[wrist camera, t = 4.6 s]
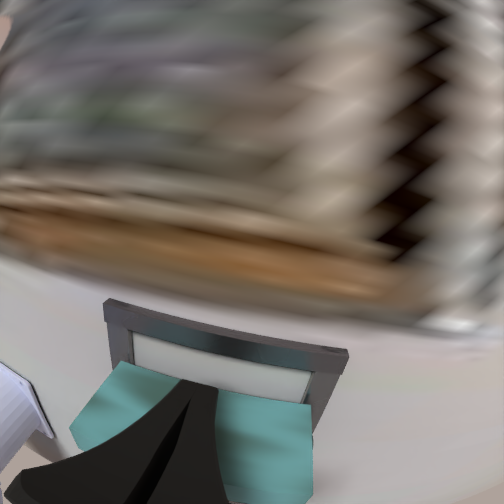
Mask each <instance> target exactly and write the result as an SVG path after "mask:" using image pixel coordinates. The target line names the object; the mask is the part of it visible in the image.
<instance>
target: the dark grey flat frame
mask: <svg viewBox="0 0 504 504" xmlns="http://www.w3.org/2000/svg"><path fill="white" fill-rule="evenodd" d="M103 310H104V321H105V322H107V329H108V338H109V347H110V354H111V361H112V368H113V370H114V369H115V368H116V366H117V365H118V364H119V363H120V361H124V362H127V363H130V364H132V365H134V358H133V346H132V331H135V332H138V333H142V334H145V335H148V336H152V337H155V338H159V339H162V340H166V341H169V342H173V343H177V344H180V345H184V346H188V347H192V348H196V349H200V350H204V351H208V352H213V353H217V354H221V355H226V356H231V357H235V358H240V359H245V360H250V361H255V362H260V363H266V364H271V365H277V366H283V367H289V368H296V369H302V370H309V371H312V374H311V377H310V380H309V382H308V385H307V388H306V390H305V393H304V395H303V398H302V401H301V403H300V404H307V405H311V420H312V434H313V432H314V430H315V428H316V426H317V424H318V422H319V420H320V418H321V416H322V414H323V411H324V409H325V407H326V405H327V403H328V401H329V399H330V397H331V394H332V392H333V390H334V388H335V385H336V383H337V381H338V379H339V376H340V374H341V375H342V373H343V371H344V369H345V366H346V364H347V361H348V359H349V354H348V351H347V349H341V348H334V347H327V346H320V345H313V344H307V343H301V342H295V341H289V340H283V339H277V338H272V337H266V336H261V335H256V334H251V333H246V332H241V331H236V330H231V329H227V328H222V327H217V326H213V325H209V324H204V323H200V322H196V321H191V320H187V319H183V318H179V317H175V316H171V315H168V314H164V313H160V312H156V311H152V310H149V309H145V308H142V307H138V306H135V305H131V304H128V303H124V302H121V301H117V300H114V299H111V298H109V299H108V300H106V301H105V302H104V303H103Z"/></svg>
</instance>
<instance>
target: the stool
mask: <svg viewBox="0 0 504 504" xmlns="http://www.w3.org/2000/svg"><path fill="white" fill-rule="evenodd" d="M180 380H181V379H177V378H174V377H170V376H167V375H163V374H160V373H157V372H154V371H151V370H147V369H144V368H141V367H138V366H135V365H132V364H130V363H127V362H124V361H120V363H119V364H118V365H117V366H116V368H115V369H114V370H113V371H112V373H111V374H110V375H109V376H108V378H107V379H106V380H105V381H104V383H103V384H102V385H101V386H100V388H99V389H98V390H97V392H96V393H95V394H94V395H93V397H92V398H91V399H90V401H89V402H88V403H87V404H86V406H85V407H84V408H83V410H82V411H81V412H80V413H79V415H78V416H77V417H76V419H75V420H74V421H73V423H72V424H71V425H70V427H69V429H70V431H71V433H72V435H73V438H74V440H75V442H76V444H77V446H78V448H79V449H81V450H83V451H87V450H89V449H92V448H94V447H96V446H98V445H99V444H101V443H103V442H105V441H107V440H109V439H110V438H112V437H114V436H115V435H117V434H118V433H120V432H121V431H123V430H124V429H126V428H127V427H129V426H130V425H131V424H133V423H134V422H135V421H137V420H138V419H139V418H141V417H142V416H143V415H144V414H146V413H147V412H148V411H149V410H150V409H151V408H153V407H154V406H155V405H156V404H157V403H158V402H159V401H160V400H162V399H163V398H164V397H165V396H166V395H167V394H168V393H169V392H170V391H171V390H172V389H173V388H174V386H175V385H176V384H177V383H178V382H179V381H180ZM218 390H219V393H218V401H217V408H216V416H215V440H216V449H217V456H218V462H219V468H220V473H221V477H222V481H223V485H224V489H225V492H226V496H227V499H228V501H234V502H239V503H246V504H305V503H306V502H307V501H308V500H309V499H310V498H311V496H312V495H313V454H312V450H313V436H312V420H311V405H307V404H299V403H291V402H284V401H278V400H271V399H266V398H260V397H254V396H249V395H244V394H239V393H234V392H229V391H225V390H220V389H218Z"/></svg>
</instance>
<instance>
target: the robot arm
mask: <svg viewBox="0 0 504 504" xmlns="http://www.w3.org/2000/svg"><path fill="white" fill-rule="evenodd" d="M218 393H219V390H218V389H217V388H216V387H212V386H208V385H203V384H199V383H195V382H192V381H188V380H184V379H182V380H180V381H179V382H178V383H177V384H176V385H175V386H174V388H173V389H172V390H171V391H170V392H169V393H168V394H167V395H166V396H165V397H164V398H163V399H162V400H160V401H159V402H158V403H157V404H156V405H155V406H154V407H153V408H151V409H150V410H149V411H148V412H147V413H146V414H144V415H143V416H142V417H141V418H139V419H138V420H137V421H135V422H134V423H133V424H131V425H130V426H129V427H127V428H126V429H124V430H123V431H121V432H120V433H118V434H117V435H115V436H114V437H112V438H110V439H109V440H107V441H105V442H103V443H101V444H99V445H98V446H96V447H94V448H92V449H89V450H87V451H85V452H83V453H81V454H78V455H76V456H73V457H70V458H67V459H64V460H61V461H58V462H55V463H52V464H48V465H44V466H39V467H34V468H30V469H24V470H22V471H21V472H20V473H19V474H18V475H17V476H16V477H15V479H14V480H13V481H12V483H11V484H10V485H9V487H8V488H7V490H6V491H5V493H4V496H5V497H6V499H8V500H9V501H10V502H11V503H12V504H229V502H228V499H227V496H226V492H225V489H224V485H223V481H222V477H221V473H220V468H219V462H218V456H217V449H216V440H215V416H216V408H217V401H218ZM36 429H37V430H38V431H40V432H41V433H43V434H44V435H46V436H47V437H49V438H51V439H52V438H53V437H54V435H53V433H52V431H51V429H50V427H49V425H48V423H47V421H46V419H45V417H44V414H43V412H42V410H41V408H40V406H39V403H38V401H37V399H36V396H35V394H34V392H33V389H32V387H31V385H30V383H29V382H28V381H27V380H25V379H24V378H22V377H21V376H19V375H18V374H16V373H15V372H13V371H12V370H10V369H9V368H8V367H6V366H5V365H3V364H2V363H1V362H0V473H1V472H2V471H3V469H4V468H5V467H6V465H7V464H8V463H9V462H10V460H11V459H12V458H13V457H14V455H15V454H16V453H17V452H18V450H19V449H20V448H21V447H22V445H23V444H24V443H25V442H26V440H27V439H28V438H29V437H30V436H31V434H32V433H33V432H34V431H35V430H36ZM0 485H1V482H0ZM0 504H3V498H2V491H1V489H0Z"/></svg>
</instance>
